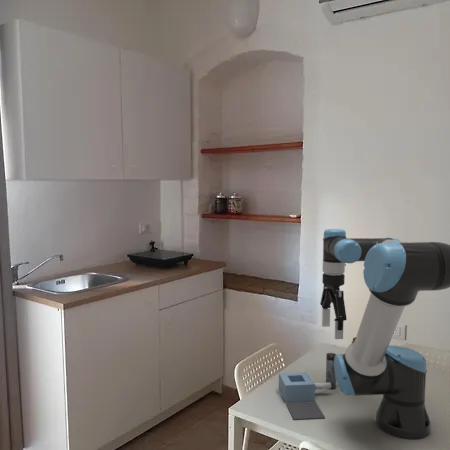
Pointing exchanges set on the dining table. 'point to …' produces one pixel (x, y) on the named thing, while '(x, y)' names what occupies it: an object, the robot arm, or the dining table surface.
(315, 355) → the dining table surface
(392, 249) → the robot arm
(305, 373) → the block
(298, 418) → the mat
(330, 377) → the bottle
